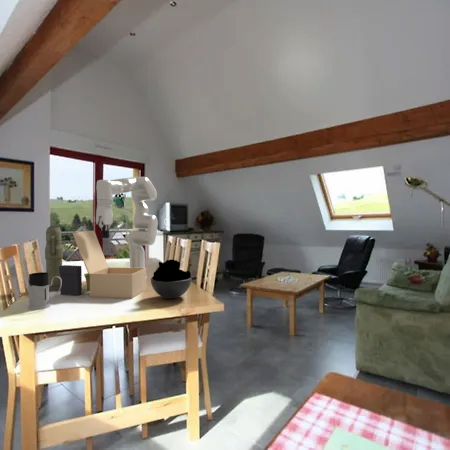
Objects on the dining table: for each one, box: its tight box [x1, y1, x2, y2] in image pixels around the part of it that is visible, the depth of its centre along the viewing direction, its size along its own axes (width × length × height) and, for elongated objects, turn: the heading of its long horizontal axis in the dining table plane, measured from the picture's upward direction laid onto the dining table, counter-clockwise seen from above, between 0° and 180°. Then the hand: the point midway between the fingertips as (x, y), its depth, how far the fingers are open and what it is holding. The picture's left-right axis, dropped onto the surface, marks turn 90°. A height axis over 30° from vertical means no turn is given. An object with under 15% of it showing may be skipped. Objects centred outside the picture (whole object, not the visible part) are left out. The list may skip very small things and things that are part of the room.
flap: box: [71, 230, 109, 274], centre depth 170 cm, size 20×22×9 cm
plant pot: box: [83, 272, 90, 291], centre depth 178 cm, size 9×9×9 cm
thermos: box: [44, 226, 64, 292], centre depth 177 cm, size 9×12×35 cm
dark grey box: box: [59, 264, 83, 297], centre depth 166 cm, size 11×4×15 cm, turn 74°
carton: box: [89, 266, 147, 299], centre depth 168 cm, size 20×22×12 cm
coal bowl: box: [150, 259, 192, 299], centre depth 158 cm, size 20×20×19 cm
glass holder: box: [27, 271, 62, 311], centre depth 143 cm, size 9×14×15 cm, turn 94°
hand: (105, 237), depth 171 cm, fingers closed
